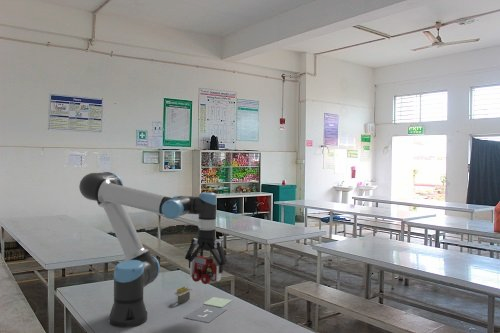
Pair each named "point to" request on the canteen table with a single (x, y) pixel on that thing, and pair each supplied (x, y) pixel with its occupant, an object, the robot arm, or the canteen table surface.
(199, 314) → the tile
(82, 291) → the canteen table surface
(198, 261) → the toy fire truck
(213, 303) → the pad
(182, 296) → the platform
